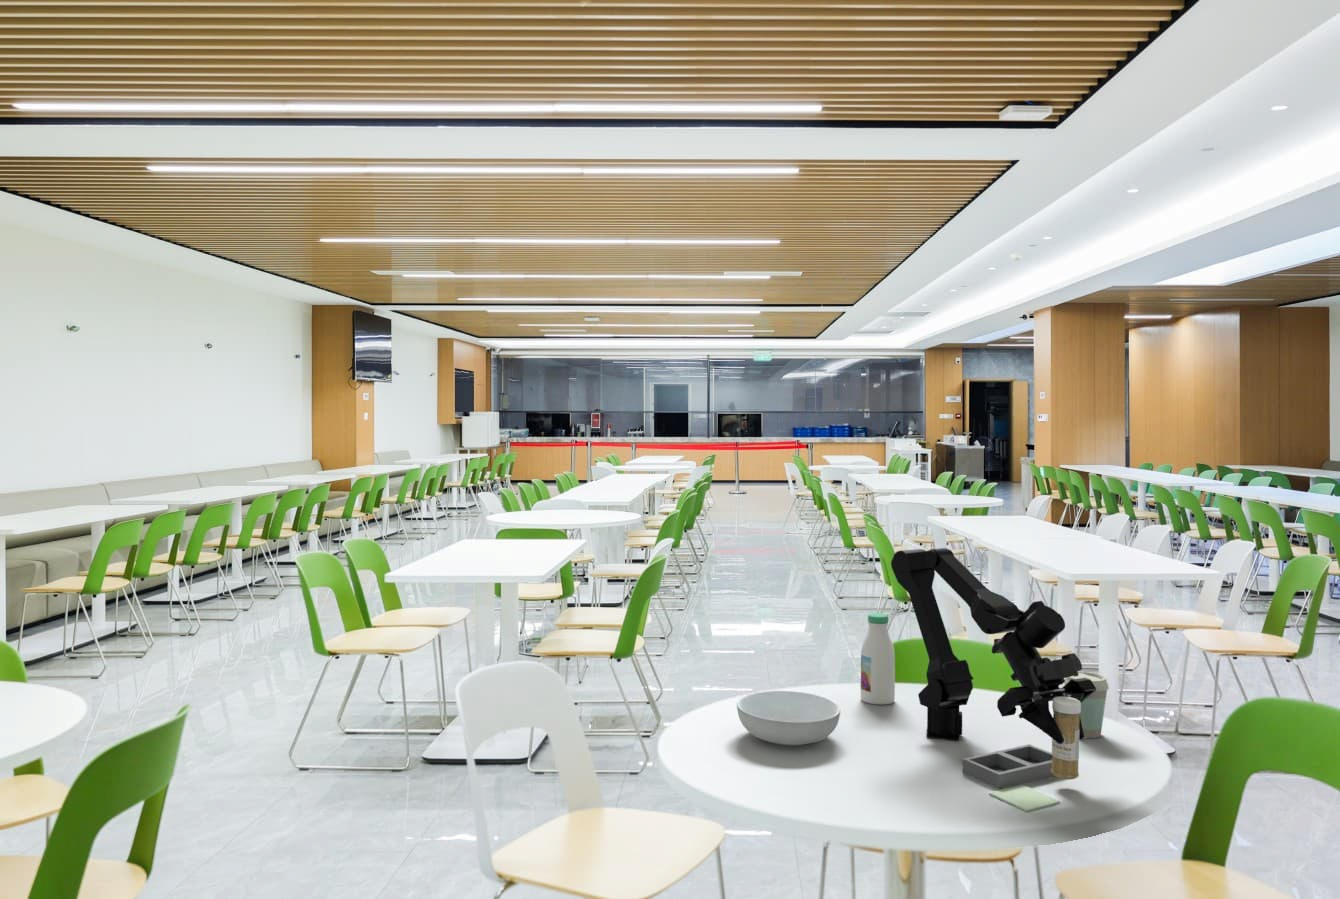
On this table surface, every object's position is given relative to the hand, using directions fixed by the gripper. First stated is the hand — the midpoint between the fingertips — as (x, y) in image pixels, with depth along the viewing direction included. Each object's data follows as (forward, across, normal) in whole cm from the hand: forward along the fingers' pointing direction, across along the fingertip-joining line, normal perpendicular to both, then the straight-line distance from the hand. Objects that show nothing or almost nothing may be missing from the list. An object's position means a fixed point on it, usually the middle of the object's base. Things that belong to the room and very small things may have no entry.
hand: (1072, 740), depth 158 cm
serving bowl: (-23, -32, +37) cm, 54 cm away
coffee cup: (-8, +26, +22) cm, 35 cm away
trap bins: (-1, -3, +13) cm, 14 cm away
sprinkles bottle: (+4, 0, +6) cm, 7 cm away
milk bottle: (-33, 0, +47) cm, 58 cm away
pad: (+6, -10, +6) cm, 13 cm away
